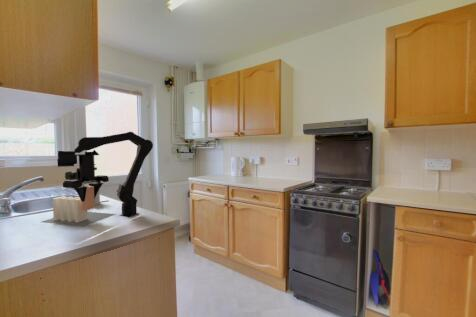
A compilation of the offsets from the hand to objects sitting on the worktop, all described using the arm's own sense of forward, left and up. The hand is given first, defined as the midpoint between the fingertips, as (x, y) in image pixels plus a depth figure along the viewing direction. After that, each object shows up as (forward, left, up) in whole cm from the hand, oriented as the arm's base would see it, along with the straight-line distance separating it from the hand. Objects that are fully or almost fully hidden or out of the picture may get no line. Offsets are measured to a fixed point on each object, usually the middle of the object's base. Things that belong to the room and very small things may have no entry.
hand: (88, 200), depth 103 cm
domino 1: (+16, +3, -10) cm, 19 cm away
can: (+27, -20, -10) cm, 36 cm away
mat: (+8, -1, -10) cm, 13 cm away
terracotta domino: (0, 0, -4) cm, 4 cm away
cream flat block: (+12, +2, -10) cm, 15 cm away
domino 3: (+8, +2, -10) cm, 12 cm away
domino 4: (+4, +1, -10) cm, 10 cm away
